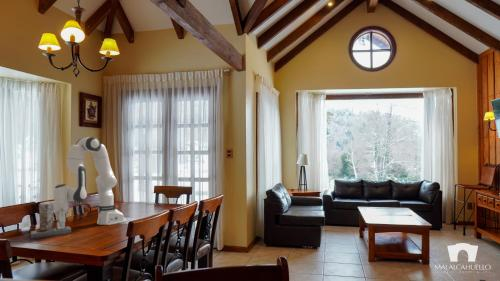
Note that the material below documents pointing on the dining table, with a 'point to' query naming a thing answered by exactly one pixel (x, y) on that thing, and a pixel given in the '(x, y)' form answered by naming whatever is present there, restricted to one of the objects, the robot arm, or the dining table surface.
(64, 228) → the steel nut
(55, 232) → the grey flat slab
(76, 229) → the dining table surface
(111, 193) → the robot arm
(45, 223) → the stone block
